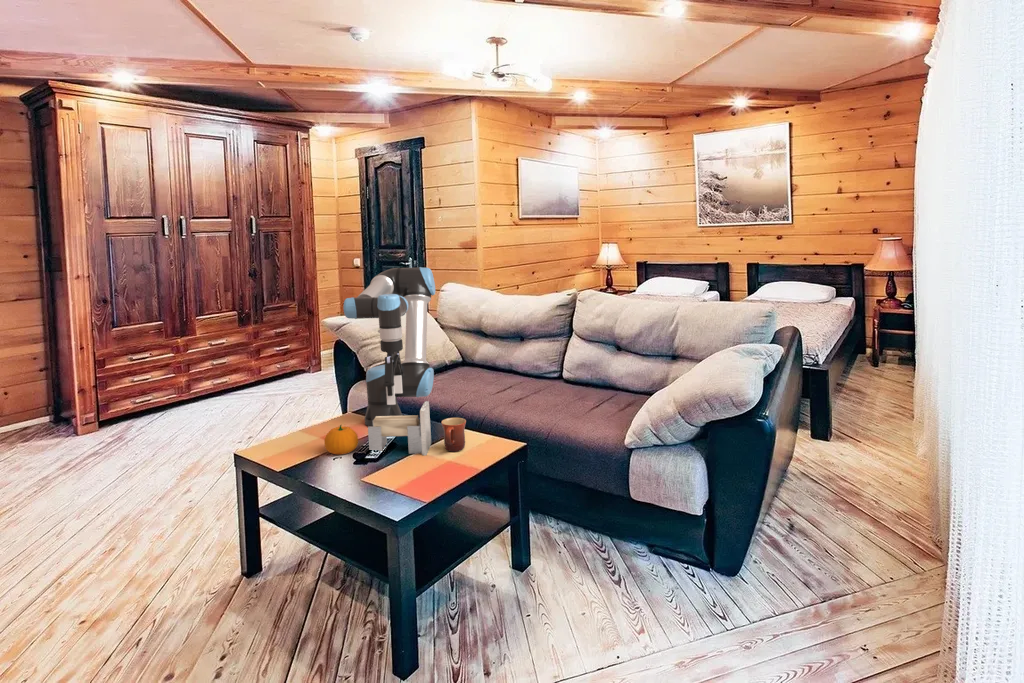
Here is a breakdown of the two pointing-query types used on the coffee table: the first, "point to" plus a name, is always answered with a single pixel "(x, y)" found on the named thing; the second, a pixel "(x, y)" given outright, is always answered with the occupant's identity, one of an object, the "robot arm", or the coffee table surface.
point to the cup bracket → (420, 432)
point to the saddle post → (376, 438)
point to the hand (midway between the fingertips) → (395, 398)
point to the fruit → (341, 440)
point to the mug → (454, 434)
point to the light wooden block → (395, 424)
